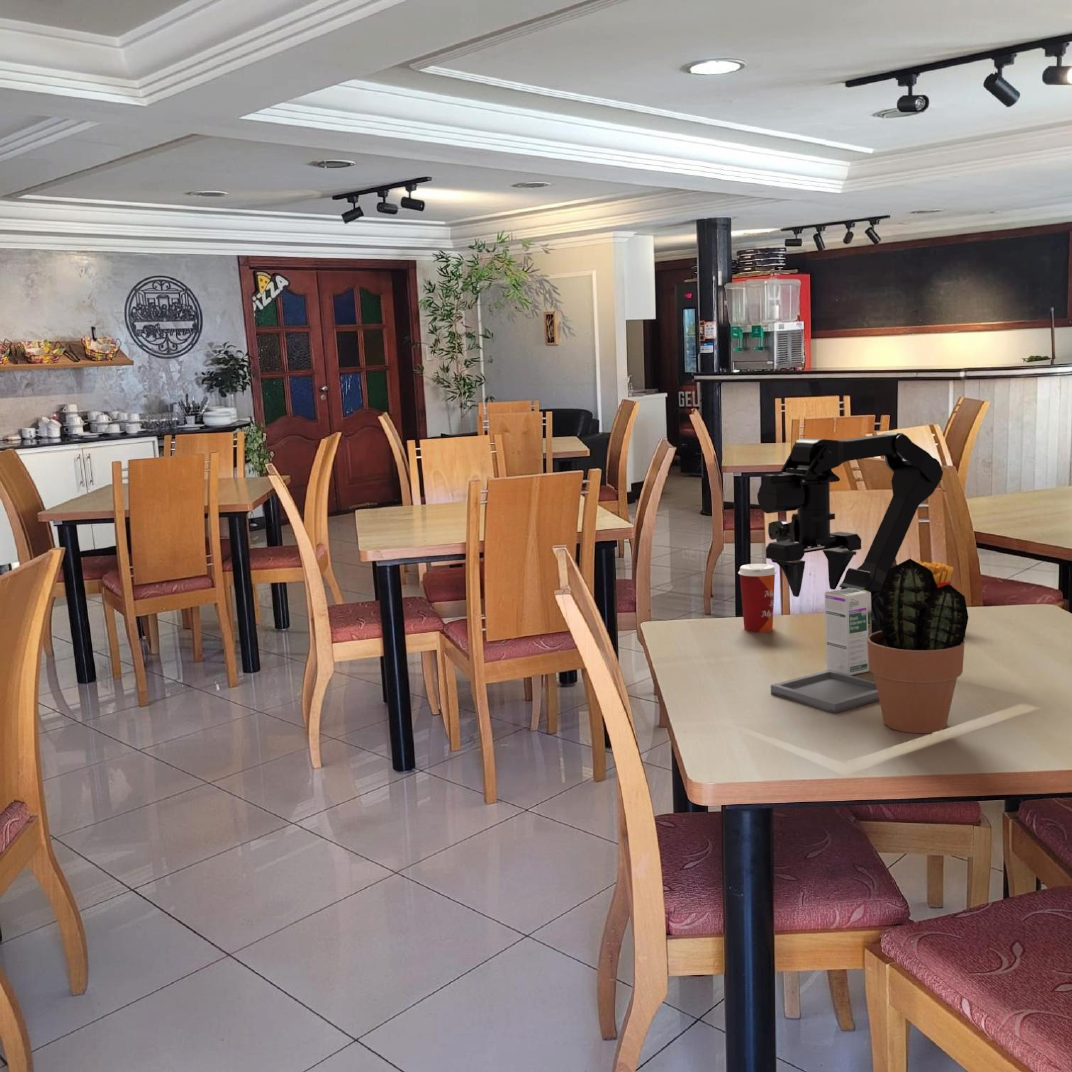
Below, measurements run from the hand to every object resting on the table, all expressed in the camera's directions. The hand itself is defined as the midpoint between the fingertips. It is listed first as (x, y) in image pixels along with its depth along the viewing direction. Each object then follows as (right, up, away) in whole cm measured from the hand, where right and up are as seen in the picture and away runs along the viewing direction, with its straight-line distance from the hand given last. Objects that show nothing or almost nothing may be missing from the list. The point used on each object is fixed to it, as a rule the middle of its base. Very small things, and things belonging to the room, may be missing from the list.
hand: (814, 592), depth 193 cm
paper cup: (-5, -10, +26) cm, 28 cm away
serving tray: (-2, -16, -18) cm, 24 cm away
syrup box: (+5, -14, -5) cm, 15 cm away
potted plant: (+6, -18, -34) cm, 39 cm away
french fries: (+29, -8, +25) cm, 39 cm away
